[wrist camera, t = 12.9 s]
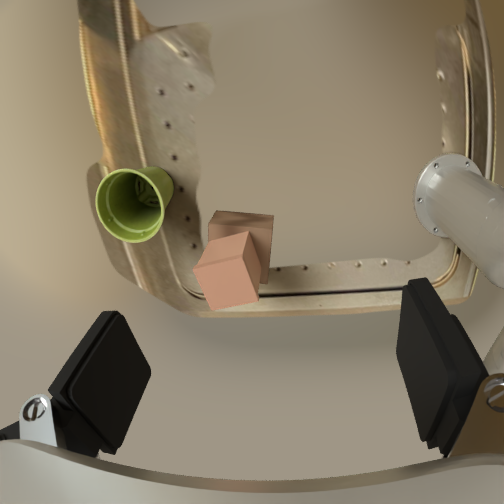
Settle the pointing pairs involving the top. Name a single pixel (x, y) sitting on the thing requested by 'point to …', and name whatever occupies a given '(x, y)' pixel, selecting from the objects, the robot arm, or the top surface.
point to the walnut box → (242, 222)
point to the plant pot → (134, 202)
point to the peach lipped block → (229, 271)
